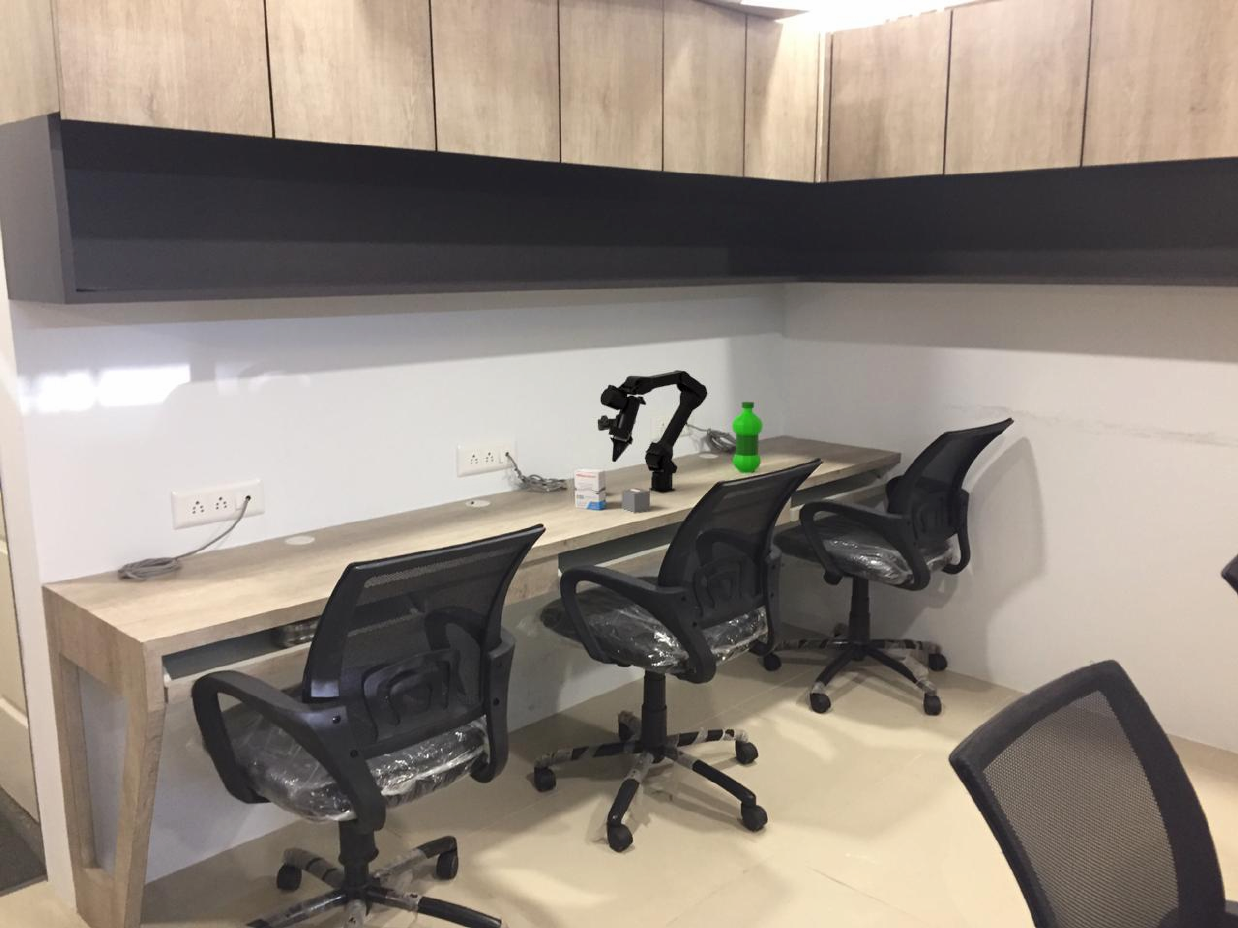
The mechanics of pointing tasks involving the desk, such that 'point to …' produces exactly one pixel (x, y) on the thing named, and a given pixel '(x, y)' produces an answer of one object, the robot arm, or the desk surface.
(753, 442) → the plastic bottle
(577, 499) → the ink box
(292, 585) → the desk surface
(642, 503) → the marked block 2
